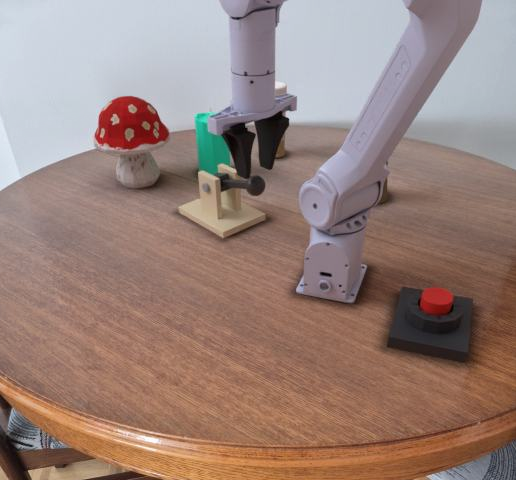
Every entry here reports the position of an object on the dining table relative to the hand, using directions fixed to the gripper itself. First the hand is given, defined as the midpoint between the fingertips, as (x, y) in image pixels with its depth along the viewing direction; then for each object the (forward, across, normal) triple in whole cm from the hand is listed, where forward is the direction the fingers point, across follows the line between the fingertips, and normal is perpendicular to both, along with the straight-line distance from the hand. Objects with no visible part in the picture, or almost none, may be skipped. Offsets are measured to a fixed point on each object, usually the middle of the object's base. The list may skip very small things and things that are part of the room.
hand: (255, 172), depth 79 cm
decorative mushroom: (+11, +3, -30) cm, 32 cm away
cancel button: (+7, -1, +32) cm, 33 cm away
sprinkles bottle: (+11, -25, -22) cm, 35 cm away
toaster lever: (+5, 0, -4) cm, 6 cm away
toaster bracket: (+10, 0, -9) cm, 14 cm away
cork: (+11, -24, +3) cm, 26 cm away
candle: (+11, -10, -23) cm, 28 cm away
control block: (+10, -1, +32) cm, 34 cm away
